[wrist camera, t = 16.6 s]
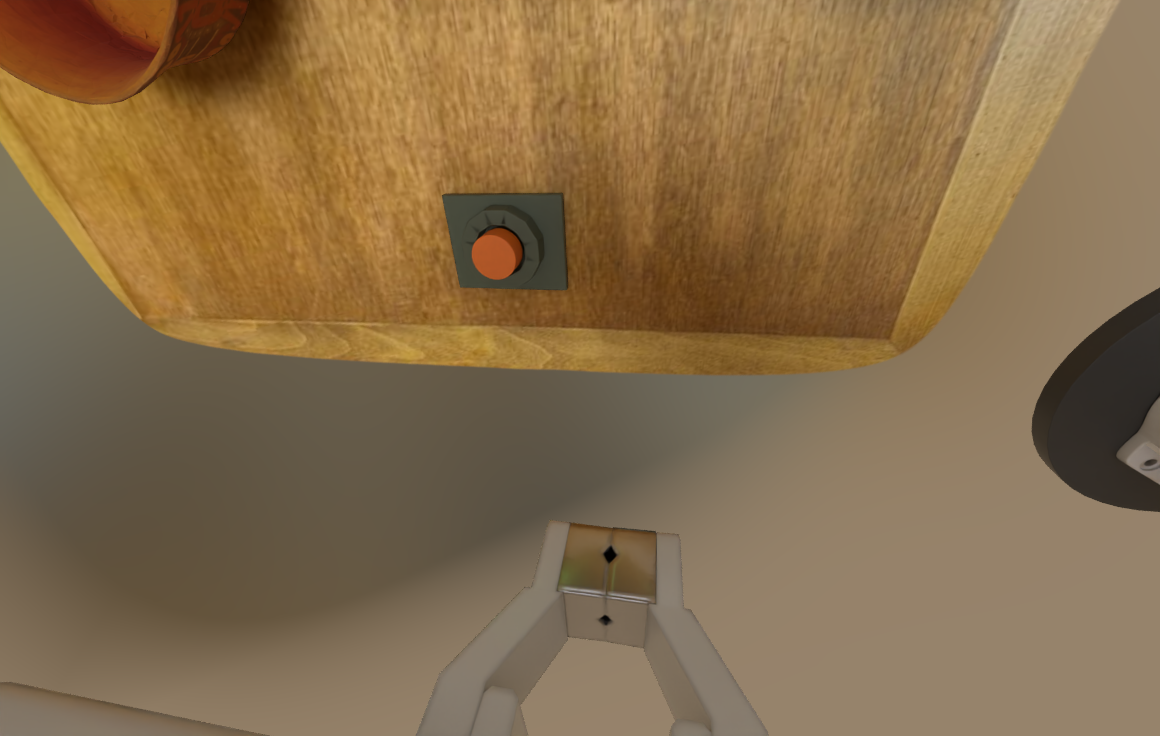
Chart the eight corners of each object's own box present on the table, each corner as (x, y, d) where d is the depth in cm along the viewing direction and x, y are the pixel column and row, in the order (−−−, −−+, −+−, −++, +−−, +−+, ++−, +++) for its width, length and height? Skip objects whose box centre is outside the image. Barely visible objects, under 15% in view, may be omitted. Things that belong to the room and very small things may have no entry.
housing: (563, 192, 34) (556, 199, 32) (568, 287, 38) (562, 298, 36) (445, 193, 35) (431, 200, 33) (462, 284, 40) (452, 295, 37)
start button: (520, 227, 34) (512, 235, 32) (525, 271, 36) (518, 280, 34) (477, 227, 34) (467, 234, 32) (484, 270, 36) (475, 279, 34)
